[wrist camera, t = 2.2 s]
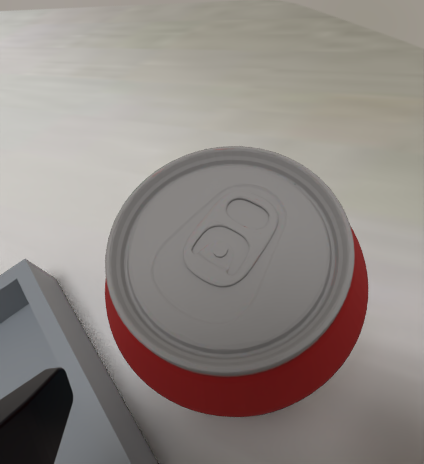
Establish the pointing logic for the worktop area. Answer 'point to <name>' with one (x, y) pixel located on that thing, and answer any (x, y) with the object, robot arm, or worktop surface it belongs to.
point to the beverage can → (234, 282)
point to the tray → (74, 363)
